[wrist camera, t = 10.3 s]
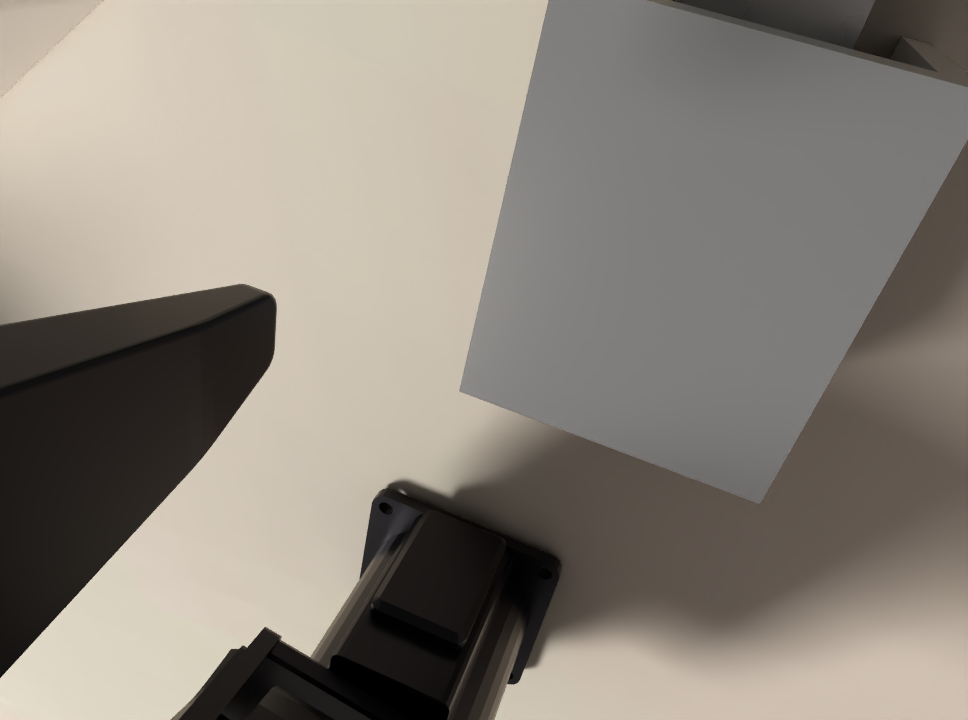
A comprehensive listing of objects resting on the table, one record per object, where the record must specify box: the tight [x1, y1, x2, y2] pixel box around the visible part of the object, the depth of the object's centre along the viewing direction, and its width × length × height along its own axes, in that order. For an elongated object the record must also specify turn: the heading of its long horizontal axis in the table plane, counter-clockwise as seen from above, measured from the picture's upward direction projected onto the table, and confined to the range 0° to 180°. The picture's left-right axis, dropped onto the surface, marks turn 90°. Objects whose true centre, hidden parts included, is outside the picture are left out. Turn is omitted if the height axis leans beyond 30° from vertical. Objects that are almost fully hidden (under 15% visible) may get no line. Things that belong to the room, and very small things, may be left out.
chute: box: [459, 0, 968, 504], centre depth 15 cm, size 8×6×5 cm
